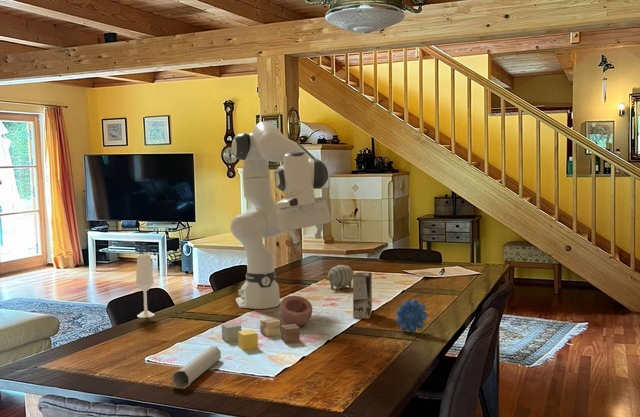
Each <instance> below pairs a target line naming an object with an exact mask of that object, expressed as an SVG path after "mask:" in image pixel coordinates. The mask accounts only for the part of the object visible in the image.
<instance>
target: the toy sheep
mask: <svg viewBox="0 0 640 417" xmlns="http://www.w3.org/2000/svg"><path fill="white" fill-rule="evenodd" d="M354 272H355V271H354V270H353V269H352V268H351V267H350V266H349V265H344V264H338V265H336V266H335V265H334V266H333V267H331V268H330V269H329V271H328V274H327V276H325V277H324V279H325V280H326V281H329V283H330V290H333V289H334V287H335V288H336V291H340V289H341V288H342V289H343V288H346V287H348V288H349V289H352V282H353V276H354V275H355V273H354Z"/></svg>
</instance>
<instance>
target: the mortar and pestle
mask: <svg viewBox="0 0 640 417" xmlns="http://www.w3.org/2000/svg"><path fill="white" fill-rule="evenodd" d="M281 300H282V302H281V304H279V308H278V309H279V310H278V311H279V316H280V318H281V320H282V322H284V324H285V325H290V324H296V325H297V326H298V327H301V326H303V325H305V324H307V323H308V322H309V320H310V319H311V317H312V314H313V305H312V303H311V302H310V301H309V300H308V299H306V298H305V297H303V296H298V295H288V296H286V297H284V298H283V299H281Z"/></svg>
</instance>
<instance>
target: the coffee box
mask: <svg viewBox="0 0 640 417" xmlns="http://www.w3.org/2000/svg"><path fill="white" fill-rule="evenodd" d="M372 274H373V273H372V272H355V273H354V276H353V279H352V287H353V288H352V291H353V292H352V309H353V310H352V312H353V314H352V318H354V319H370V317H371V315H372V312H373V308H372V307H373V303H372V302H373V298H372V296H373V295H372V294H373V291H372V290H373V289H372V288H373V286H372V285H373V284H372V283H373V282H372V281H373V280H372Z"/></svg>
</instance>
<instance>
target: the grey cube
mask: <svg viewBox="0 0 640 417" xmlns="http://www.w3.org/2000/svg"><path fill="white" fill-rule="evenodd" d="M238 331H242V325H241V324H239V323H238V322H230V323H224V324H222V323H221V340H223V341H225V342H227V343H232V342H236V341H237V342H238Z"/></svg>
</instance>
